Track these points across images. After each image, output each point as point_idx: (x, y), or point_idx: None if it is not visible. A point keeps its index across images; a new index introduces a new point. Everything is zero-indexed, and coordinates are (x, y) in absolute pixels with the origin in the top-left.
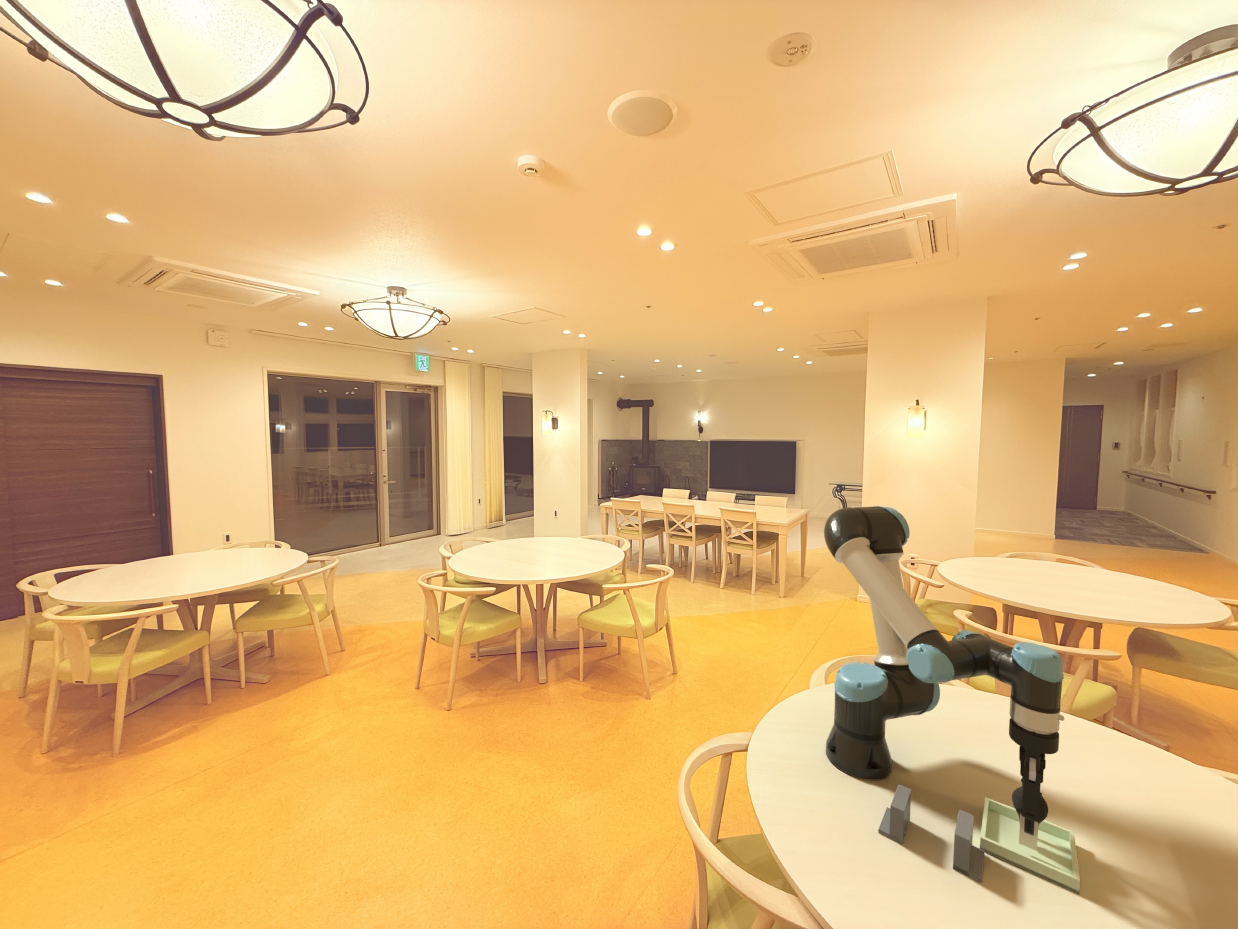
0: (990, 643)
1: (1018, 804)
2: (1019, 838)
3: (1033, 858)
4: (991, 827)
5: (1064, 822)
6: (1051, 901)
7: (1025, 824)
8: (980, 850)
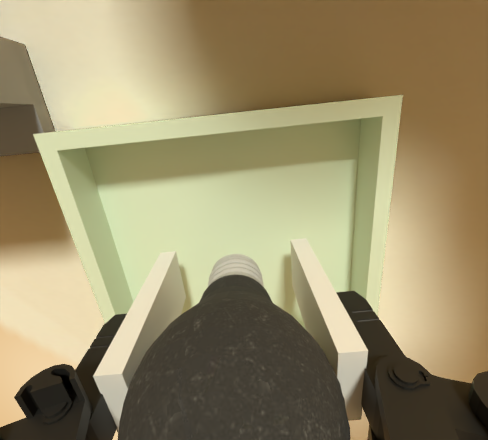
0: None
1: (132, 383)
2: (153, 266)
3: (108, 299)
4: (233, 146)
5: (452, 309)
6: (51, 312)
7: (88, 356)
8: (32, 137)
